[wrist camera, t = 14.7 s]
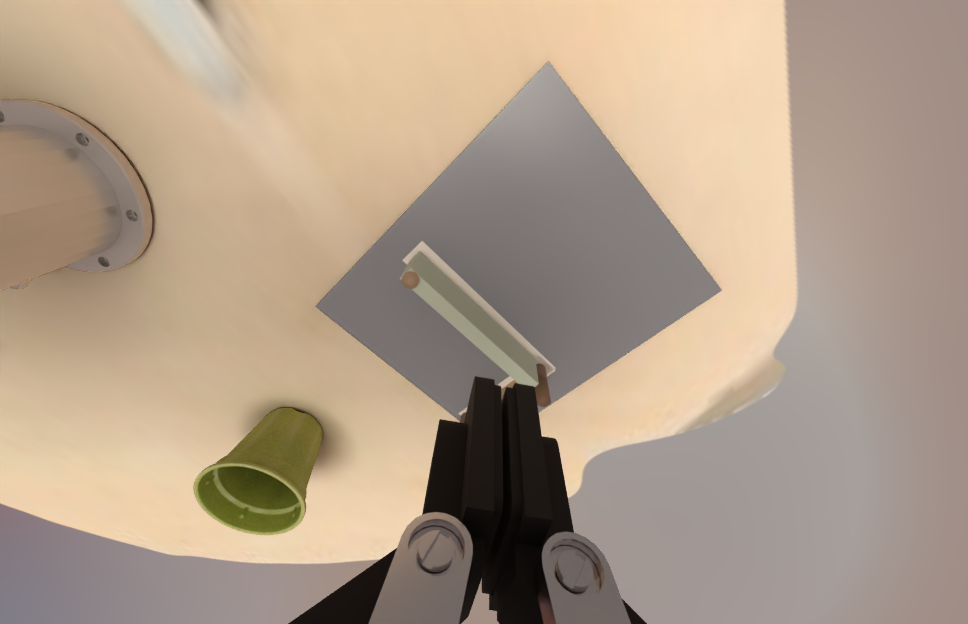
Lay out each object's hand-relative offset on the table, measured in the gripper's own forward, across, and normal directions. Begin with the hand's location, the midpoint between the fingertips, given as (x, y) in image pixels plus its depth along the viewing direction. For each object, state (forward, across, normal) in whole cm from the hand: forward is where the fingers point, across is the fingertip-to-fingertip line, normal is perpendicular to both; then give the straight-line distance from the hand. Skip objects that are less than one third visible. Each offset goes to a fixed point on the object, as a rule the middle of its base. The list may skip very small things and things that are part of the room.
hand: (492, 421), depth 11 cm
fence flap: (+21, 0, +8) cm, 23 cm away
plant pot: (+22, +16, +26) cm, 38 cm away
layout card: (+22, -3, +6) cm, 23 cm away
